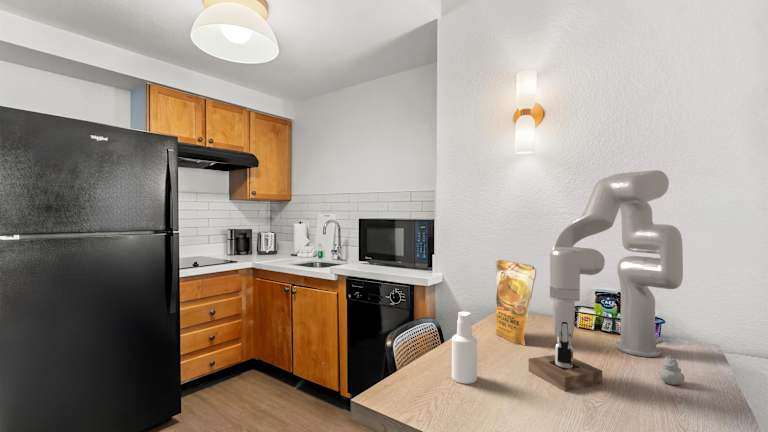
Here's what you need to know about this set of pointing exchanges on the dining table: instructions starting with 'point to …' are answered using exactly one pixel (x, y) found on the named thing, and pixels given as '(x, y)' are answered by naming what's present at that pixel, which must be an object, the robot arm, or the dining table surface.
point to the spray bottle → (464, 351)
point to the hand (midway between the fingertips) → (564, 358)
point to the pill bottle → (563, 365)
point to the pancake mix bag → (513, 299)
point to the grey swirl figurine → (671, 372)
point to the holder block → (565, 373)
